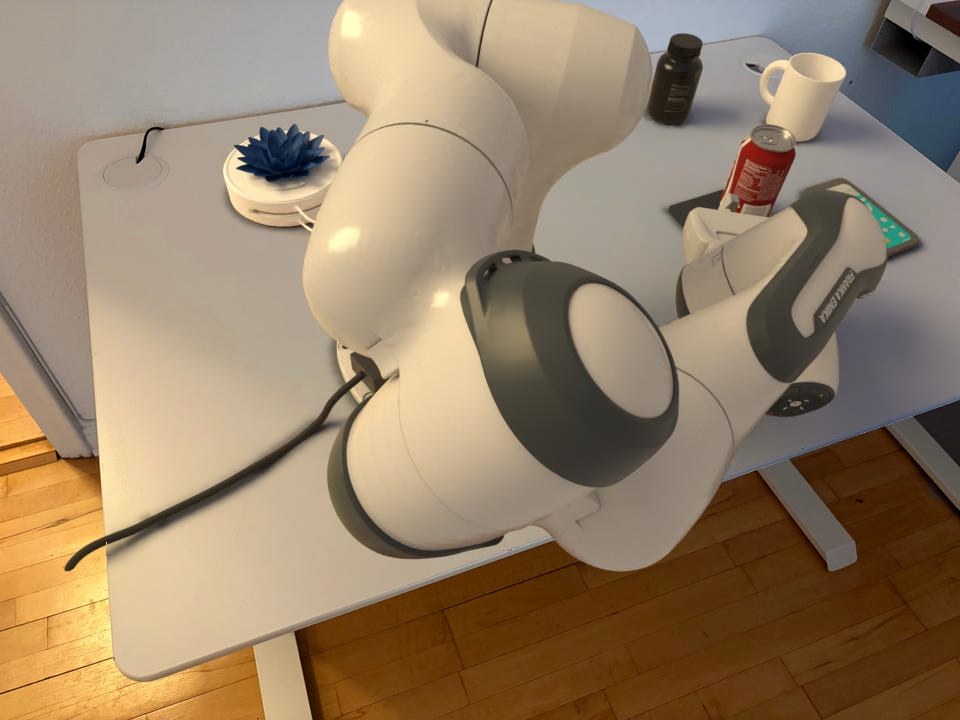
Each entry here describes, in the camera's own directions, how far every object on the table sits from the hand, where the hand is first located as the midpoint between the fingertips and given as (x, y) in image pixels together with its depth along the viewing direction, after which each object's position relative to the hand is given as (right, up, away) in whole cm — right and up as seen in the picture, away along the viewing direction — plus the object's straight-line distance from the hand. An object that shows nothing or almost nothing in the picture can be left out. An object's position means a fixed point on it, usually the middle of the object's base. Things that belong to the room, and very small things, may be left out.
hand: (769, 203), depth 86 cm
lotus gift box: (-59, +3, +12) cm, 61 cm away
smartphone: (+18, +1, +15) cm, 24 cm away
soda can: (+1, +2, +13) cm, 13 cm away
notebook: (-1, 0, +13) cm, 13 cm away
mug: (+14, +19, +29) cm, 38 cm away
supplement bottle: (-5, +21, +29) cm, 36 cm away
